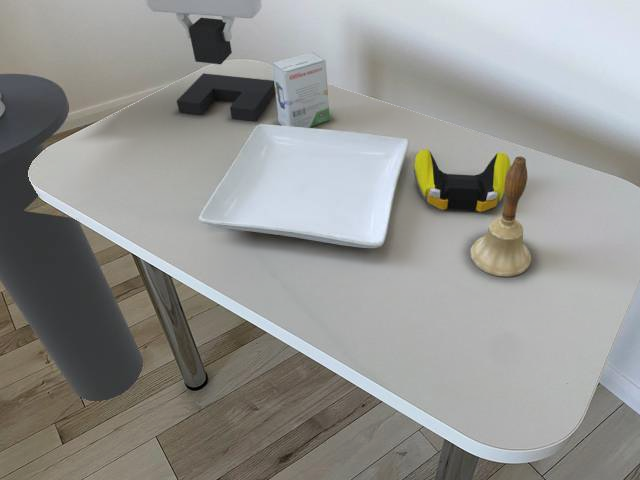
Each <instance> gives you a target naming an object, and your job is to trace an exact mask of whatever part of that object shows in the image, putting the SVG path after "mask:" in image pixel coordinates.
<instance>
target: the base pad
mask: <svg viewBox="0 0 640 480" xmlns="http://www.w3.org/2000/svg"><path fill="white" fill-rule="evenodd" d="M275 97H276V92H275V84H274V79H273V80H272V79H263V78H262V79H261V78H252V77H244V76H243V77H242V76H233V75H223V74H214V73H205V72H204V73H202V74H201V75H200V76H199V77H198V78H197V79H196V80H195V81H194V82H193V83H192V84H191V85H190V86H189V87H188V88H187V89H186V90H185V91H184V93H182V95H180V97H179V98H177V100H176V105H177V108H178V112H179V114H189V115H198V116H203V115H204V114H205V112H207V110H208V109H210V107H211V106H212V104H214V102H215V101H221V102H231V103H232V104H231V105H230V106H229V109H230V114H231V115H230V116H231V119H233V120H240V121H248V122H257V121H258V119H259V118H260V117H261V116H262V114H263V113H264V111H265V110H266V109H267V108H268V106H269V104H270V103H271V101H272V100H273V99H274V98H275Z"/></svg>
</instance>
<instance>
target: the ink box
mask: <svg viewBox="0 0 640 480" xmlns="http://www.w3.org/2000/svg"><path fill="white" fill-rule="evenodd" d="M271 66H272V67H271V68H272V75H273V81H274V84H275V92H276V94H275V98H276V108H277V109H276V110H277V118H278V123H279V124H280V126H292V127H304V128H312V127H314V126H317V125H320V124H322V123H326V122H329V121H330V105H329V104H330V103H329V91H328V89H329V87H328V73H327V60H326V59H324V58H323V57H322V56H320V55H318V54H316V53H315V52H307V53H305V54H300V55H297V56H293V57H289V58H286V59H282V60H278V61H277V60H276V61H274V62H272V63H271Z"/></svg>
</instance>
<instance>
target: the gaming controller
mask: <svg viewBox="0 0 640 480" xmlns="http://www.w3.org/2000/svg"><path fill="white" fill-rule="evenodd" d="M511 165H512V163H511V160H510V157H509V155H508V153H503V152H501V151H499V152H497V153H496V154H495V155H494V157H492V159H491V160H490V161H489V162H488V164H487V166H486V167H485V169H484V170H483V171H482V172H481V173H479V174H457V173H456V174H455V173H446V172H444V171H442V170H440V169H439V166H438V164H437V162H436V160H435V158H434V156H433V154H432V152H431V151H430V149H428V148H424V149H421V150H419V151H418V152H417V154H416V155H415V158H414V165H413V173H414V177H415V182H416V185H417V188H418V190H419V193H420V195H421V197H422V198H423V200H424V201H426V203H427V204H429V205H431V206H434V207H435V208H437V209H439V210H442V211H444V210H452V211H453V210H456V211H474V212H475V211H477V212H479V213H482V212H485V211H487V210H490V209H493V208H496V207H497V205H499V204H500V203H501V202H502V200H503V198H504V196H505V191H504V186H505V179H506V175H507V172H508V170H509V168H510V167H511Z"/></svg>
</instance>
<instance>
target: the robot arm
mask: <svg viewBox="0 0 640 480" xmlns="http://www.w3.org/2000/svg"><path fill="white" fill-rule="evenodd" d="M145 2H146V5H147V7H148V8H149V9H150V10H151V11H152V12H155V13H156V12H158V13H171V14H176V19H177V20H178V22H179V23H180V24H181V25H182V27H183V28H184V29H185V31H186V36H187V38H188V39H191V38H190V33H189V28H190V27H191V26H192V25H193V24H194V23H193V22H192V21H191V19H190V17H189V16H190V15H197V16H198V15H199V16H210V17H213V16H214V17H221V20H222V21H223V22H226V24H225V27H224V28H223V29H222V30H221V31H219V33H220V39H221V41H230V42H231V40H232V38H233V35H232V28H233V24H234V22H235V20H236V18H238V19H239V18H240V19H253V18H254V17H256V16H257V15H258V13H259V12H260V11H261V9H262V0H145ZM4 111H5V105H4V104H3V102H2V101H1V94H0V117H1V116H2V114H3V113H4Z"/></svg>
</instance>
